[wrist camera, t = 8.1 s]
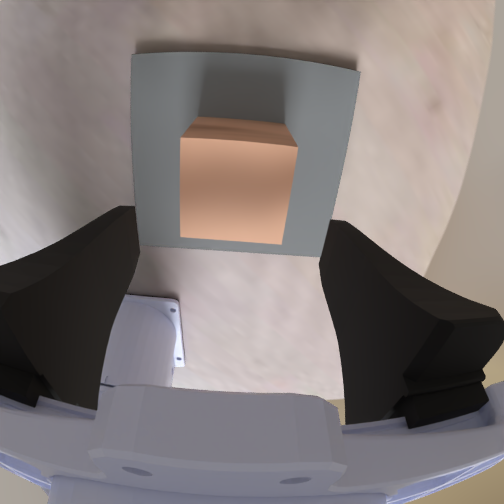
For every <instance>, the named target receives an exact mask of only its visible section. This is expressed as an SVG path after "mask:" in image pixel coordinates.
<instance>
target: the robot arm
mask: <svg viewBox="0 0 504 504" xmlns="http://www.w3.org/2000/svg"><path fill="white" fill-rule="evenodd" d="M139 254H140V248H139V240H138V232H137V223H136V213H135V206H118V207H116V208H114V209H112V210H110V211H108V212H107V213H105V214H103V215H102V216H100V217H98V218H97V219H95V220H93V221H92V222H90V223H89V224H87V225H85V226H84V227H82V228H80V229H79V230H77V231H75V232H73V233H72V234H70V235H68V236H67V237H65V238H63V239H61V240H60V241H58V242H56V243H54V244H52V245H50V246H48V247H46V248H44V249H42V250H40V251H37V252H35V253H33V254H30V255H28V256H25V257H23V258H21V259H18V260H16V261H13V262H10V263H7V264H4V265H1V266H0V466H1V467H2V468H4V469H6V470H8V471H10V472H12V473H14V474H16V475H18V476H20V477H22V478H24V479H26V480H28V481H30V482H33V483H35V484H37V485H39V486H41V488H42V489H43V490H44V491H45V493H46V494H47V495H48V496H49V499H48V504H403V503H406V502H409V501H412V500H415V499H418V498H421V497H424V496H426V495H429V494H432V493H434V492H437V491H439V490H442V489H444V488H447V487H449V486H452V485H454V484H456V483H459V482H461V481H463V480H465V479H468V478H470V477H472V476H474V475H476V474H478V473H480V472H482V471H484V470H487V469H489V468H490V467H492V466H493V465H495V464H497V463H498V462H500V461H501V460H503V459H504V381H501V382H498V383H495V384H492V385H490V386H489V387H487V388H486V389H484V387H483V385H482V381H484V380H485V374H484V372H483V370H482V369H483V368H484V366H485V365H486V364H487V363H488V362H489V360H490V359H491V358H492V357H493V356H494V354H495V353H496V352H497V350H498V349H499V348H500V346H501V345H502V343H503V341H504V320H503V319H502V317H501V316H500V314H499V313H498V311H497V310H496V309H494V308H491V307H489V306H486V305H483V304H480V303H477V302H474V301H471V300H469V299H467V298H464V297H462V296H459V295H457V294H455V293H453V292H451V291H449V290H446V289H444V288H442V287H440V286H439V285H437V284H435V283H433V282H431V281H429V280H428V279H426V278H424V277H422V276H421V275H419V274H418V273H416V272H414V271H413V270H411V269H410V268H408V267H407V266H405V265H404V264H402V263H401V262H399V261H398V260H397V259H395V258H394V257H392V256H391V255H390V254H388V253H387V252H386V251H384V250H383V249H382V248H381V247H379V246H378V245H377V244H376V243H374V242H373V241H372V240H371V239H369V238H368V237H367V236H366V235H364V234H363V233H362V232H361V231H359V230H358V229H357V228H355V227H354V226H353V225H351V224H350V223H348V222H346V221H341V220H331V219H330V222H329V226H328V230H327V234H326V238H325V242H324V246H323V250H322V254H321V257H320V261H319V269H320V276H321V282H322V287H323V291H324V294H325V298H326V301H327V304H328V308H329V311H330V314H331V318H332V321H333V324H334V328H335V331H336V335H337V340H338V345H339V351H340V358H341V365H342V375H343V384H344V398H345V422H346V423H345V425H341V424H340V419H339V414H338V408H337V407H336V406H334V405H332V404H331V403H329V402H327V401H326V400H324V399H323V398H320V397H318V396H313V395H303V394H295V393H246V392H224V391H208V390H196V389H185V388H175V387H172V381H173V374H174V368H175V366H176V367H183V366H185V357H184V348H183V339H182V330H181V319H180V308H179V302H178V301H177V300H175V299H168V298H157V297H146V296H136V295H126V292H127V289H128V287H129V284H130V282H131V280H132V277H133V275H134V272H135V269H136V265H137V262H138V258H139ZM172 308H174V309H172Z"/></svg>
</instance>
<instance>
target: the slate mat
mask: <svg viewBox="0 0 504 504" xmlns="http://www.w3.org/2000/svg"><path fill="white" fill-rule="evenodd" d="M360 73H361V72H359V71H355V70H350V69H346V68H341V67H336V66H331V65H326V64H321V63H315V62H309V61H303V60H296V59H289V58H282V57H273V56H264V55H253V54H240V53H222V52H161V53H143V54H132V60H131V143H132V164H133V180H134V193H135V205H136V215H137V225H138V234H139V242H140V245H143V246H158V247H173V248H188V249H203V250H218V251H233V252H248V253H263V254H278V255H293V256H309V257H321V254H322V250H323V246H324V242H325V238H326V234H327V230H328V226H329V222H330V219H331V218H332V214H333V210H334V206H335V201H336V197H337V193H338V188H339V184H340V179H341V175H342V170H343V165H344V161H345V156H346V151H347V146H348V141H349V136H350V131H351V125H352V120H353V115H354V109H355V103H356V98H357V92H358V86H359V80H360ZM197 117H216V118H231V119H244V120H255V121H265V122H274V123H282V124H285V125H286V126H287V128H288V130H289V132H290V133H291V135H292V137H293V139H294V140H295V142H296V144H297V146H298V152H297V158H296V164H295V170H294V176H293V182H292V188H291V194H290V200H289V205H288V211H287V217H286V222H285V228H284V234H283V239H282V245H280V244H267V243H254V242H241V241H227V240H214V239H200V238H186V237H180V139H181V136H182V135H183V134H184V133H185V131H186V130H187V129H188V128H189V126H190V125H191V124H192V123H193V121H194V120H195V119H196V118H197Z"/></svg>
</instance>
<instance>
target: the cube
mask: <svg viewBox="0 0 504 504" xmlns="http://www.w3.org/2000/svg"><path fill="white" fill-rule="evenodd" d="M297 152H298V146H297V144H296V142H295V140H294V139H293V137H292V135H291V133H290V132H289V130H288V128H287V126H286V125H285V124H282V123H274V122H265V121H255V120H244V119H231V118H216V117H197V118H196V119H195V120H194V121H193V123H192V124H191V125H190V126H189V128H188V129H187V130H186V131H185V133H184V134H183V135H182V136H181V139H180V237H186V238H200V239H214V240H227V241H241V242H254V243H267V244H280V245H282V239H283V234H284V228H285V222H286V217H287V211H288V205H289V200H290V194H291V188H292V182H293V176H294V170H295V164H296V158H297Z"/></svg>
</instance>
